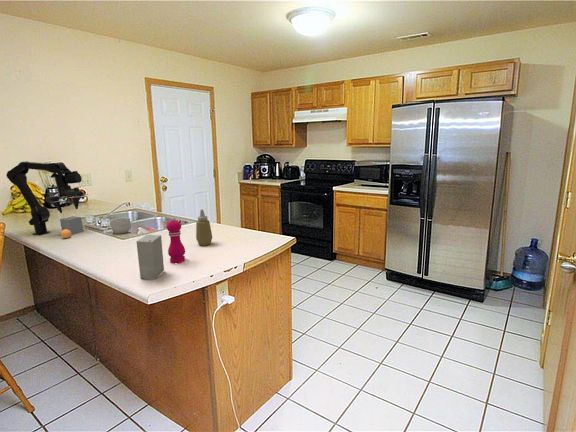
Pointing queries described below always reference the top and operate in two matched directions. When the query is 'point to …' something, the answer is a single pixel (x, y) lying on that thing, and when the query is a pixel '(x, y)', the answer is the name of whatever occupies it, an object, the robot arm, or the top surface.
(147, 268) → the skincare box
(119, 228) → the teacup
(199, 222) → the squeeze bottle
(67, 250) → the top surface
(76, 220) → the grey block
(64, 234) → the ball
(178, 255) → the pepper mill
